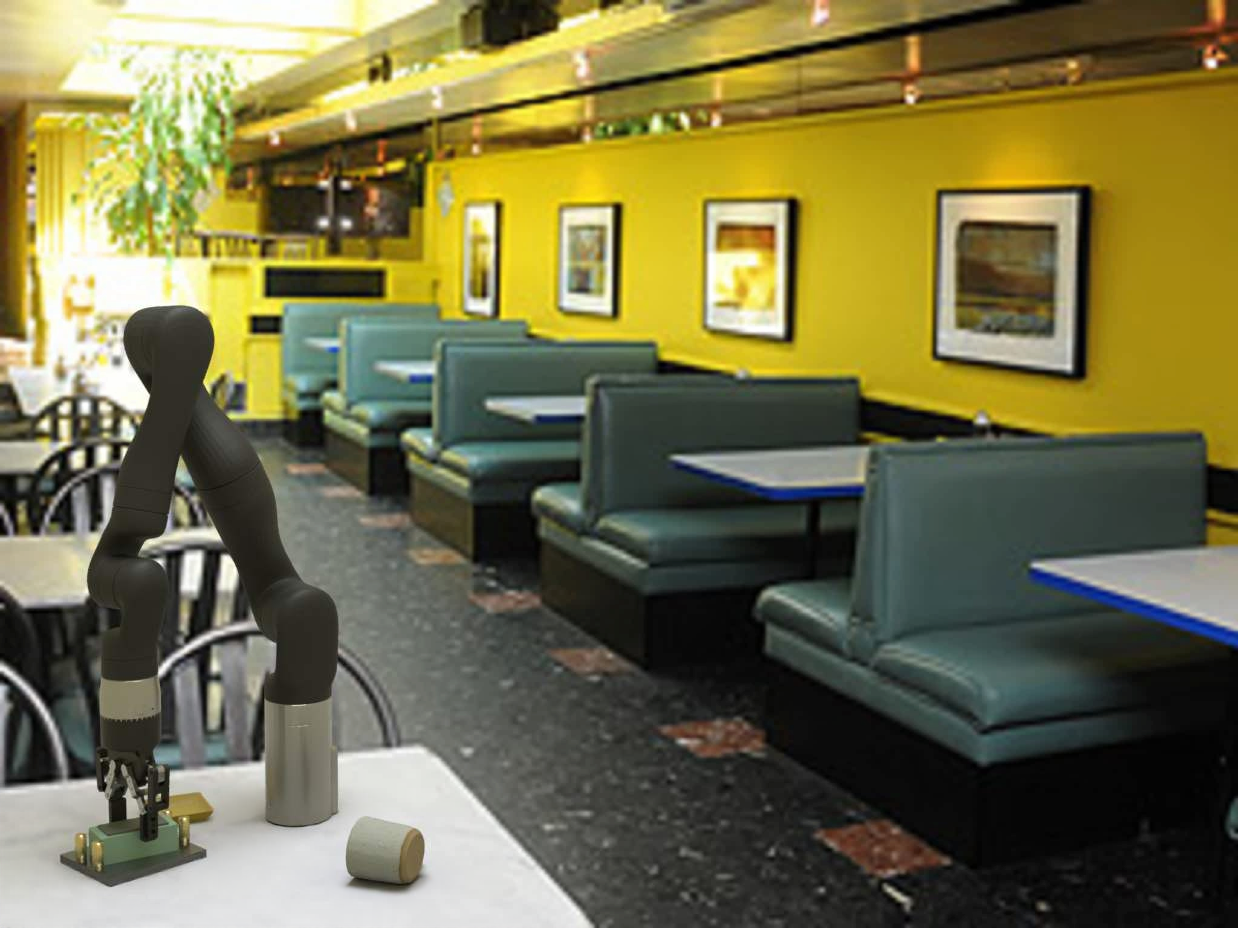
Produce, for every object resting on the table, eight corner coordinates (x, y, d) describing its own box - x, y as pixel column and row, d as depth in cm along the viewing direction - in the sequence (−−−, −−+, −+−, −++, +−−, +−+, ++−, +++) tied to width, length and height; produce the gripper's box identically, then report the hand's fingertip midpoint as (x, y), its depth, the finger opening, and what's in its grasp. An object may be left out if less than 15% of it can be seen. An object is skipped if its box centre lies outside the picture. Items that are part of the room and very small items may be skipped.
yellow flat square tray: (215, 823, 224) (215, 809, 224) (152, 833, 220) (151, 818, 220) (200, 805, 232) (199, 791, 231) (138, 814, 227) (138, 799, 227)
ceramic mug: (403, 893, 200) (404, 833, 199) (343, 885, 202) (344, 826, 201) (437, 865, 210) (438, 808, 209) (380, 857, 212) (380, 800, 211)
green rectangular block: (164, 838, 214) (163, 810, 214) (178, 849, 210) (177, 821, 210) (89, 853, 208) (88, 825, 208) (101, 865, 204) (101, 836, 204)
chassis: (155, 833, 219) (154, 801, 218) (206, 856, 211) (206, 823, 210) (60, 861, 208) (59, 827, 208) (110, 886, 200) (109, 851, 200)
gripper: (187, 713, 205) (190, 839, 207) (125, 692, 214) (128, 813, 217) (135, 726, 199) (138, 855, 202) (74, 703, 209) (77, 827, 211)
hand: (133, 832), depth 209 cm, fingers open, 6 cm apart
